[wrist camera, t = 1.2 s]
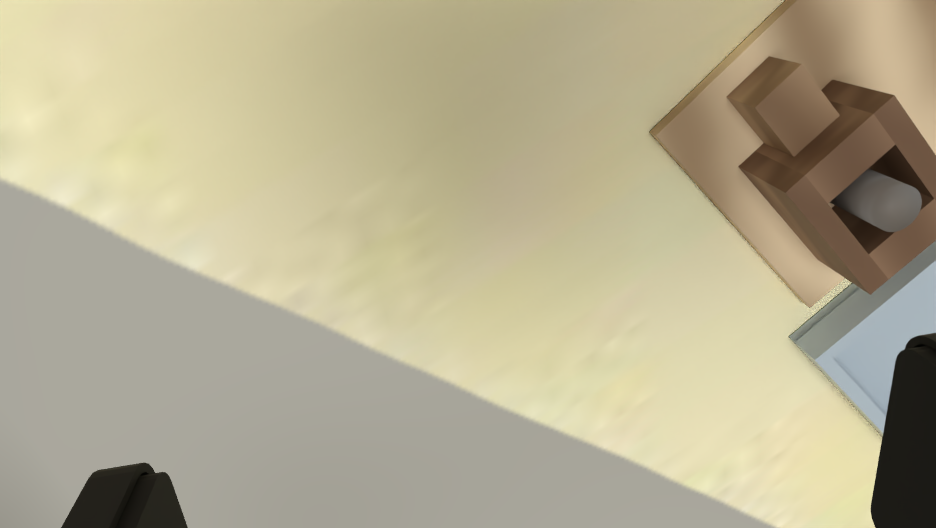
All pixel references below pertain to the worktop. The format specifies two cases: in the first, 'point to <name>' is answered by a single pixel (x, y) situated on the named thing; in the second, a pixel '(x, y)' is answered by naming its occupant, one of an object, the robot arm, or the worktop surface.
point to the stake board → (825, 58)
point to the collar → (835, 166)
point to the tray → (872, 334)
